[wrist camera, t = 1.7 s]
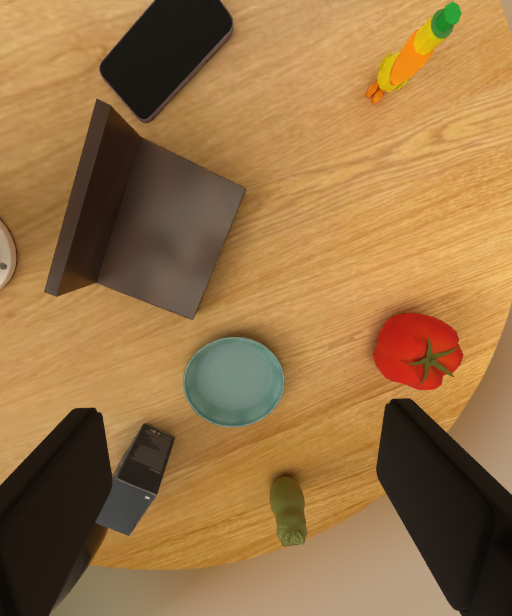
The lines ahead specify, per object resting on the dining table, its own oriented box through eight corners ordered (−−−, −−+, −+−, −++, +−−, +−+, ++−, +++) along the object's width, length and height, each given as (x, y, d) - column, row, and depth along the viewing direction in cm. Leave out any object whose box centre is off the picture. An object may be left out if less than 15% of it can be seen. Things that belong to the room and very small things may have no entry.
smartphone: (94, 68, 31) (190, -43, 29) (99, 73, 32) (192, -34, 30) (143, 125, 33) (237, 24, 30) (146, 128, 34) (237, 31, 32)
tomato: (414, 293, 41) (459, 308, 33) (437, 350, 44) (485, 378, 36) (351, 328, 42) (380, 351, 34) (378, 382, 45) (411, 416, 37)
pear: (299, 468, 48) (315, 526, 39) (298, 492, 50) (313, 554, 40) (267, 470, 48) (275, 530, 38) (267, 494, 49) (275, 558, 40)
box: (143, 421, 44) (116, 478, 34) (175, 436, 45) (158, 496, 35) (121, 457, 45) (88, 522, 35) (152, 471, 46) (129, 538, 36)
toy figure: (364, 127, 35) (428, 76, 24) (345, 106, 34) (401, 42, 23) (402, 80, 34) (488, 2, 23) (382, 57, 33) (461, -36, 22)
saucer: (192, 323, 40) (189, 329, 38) (290, 338, 42) (294, 345, 39) (180, 411, 44) (177, 422, 41) (271, 421, 45) (273, 432, 43)
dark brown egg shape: (131, 496, 47) (84, 614, 33) (95, 534, 49) (35, 662, 34) (78, 466, 45) (2, 579, 30) (42, 506, 46) (-46, 632, 32)
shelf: (97, 275, 37) (43, 292, 27) (139, 140, 34) (96, 98, 23) (195, 314, 40) (181, 343, 29) (245, 191, 36) (249, 174, 26)
